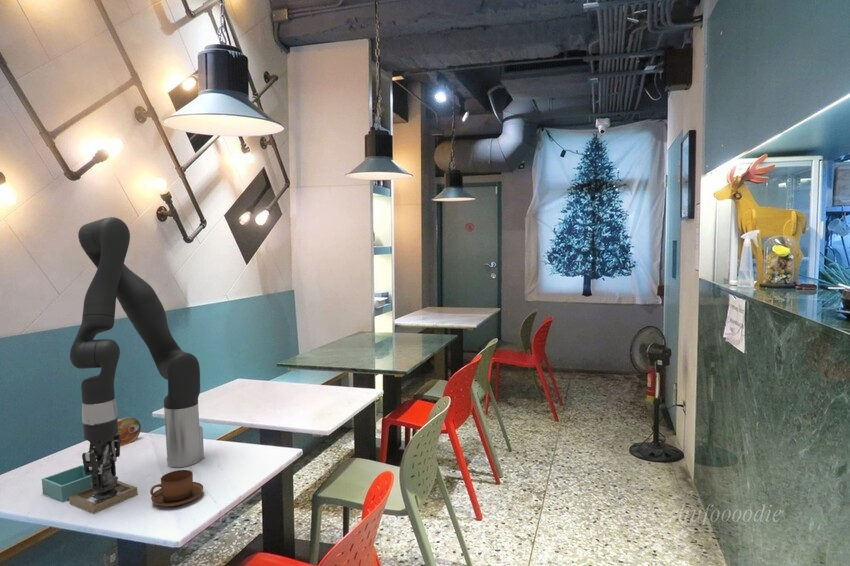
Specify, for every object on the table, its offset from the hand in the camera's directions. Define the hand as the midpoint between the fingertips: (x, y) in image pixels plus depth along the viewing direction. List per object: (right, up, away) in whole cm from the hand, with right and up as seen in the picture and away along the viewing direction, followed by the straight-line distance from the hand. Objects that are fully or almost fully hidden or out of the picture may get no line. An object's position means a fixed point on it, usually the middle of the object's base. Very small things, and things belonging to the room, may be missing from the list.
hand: (104, 482), depth 134 cm
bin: (-12, -4, +6) cm, 14 cm away
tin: (-19, -3, +38) cm, 42 cm away
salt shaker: (0, -3, 0) cm, 3 cm away
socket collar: (0, -4, 0) cm, 4 cm away
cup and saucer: (+19, -4, 0) cm, 19 cm away
